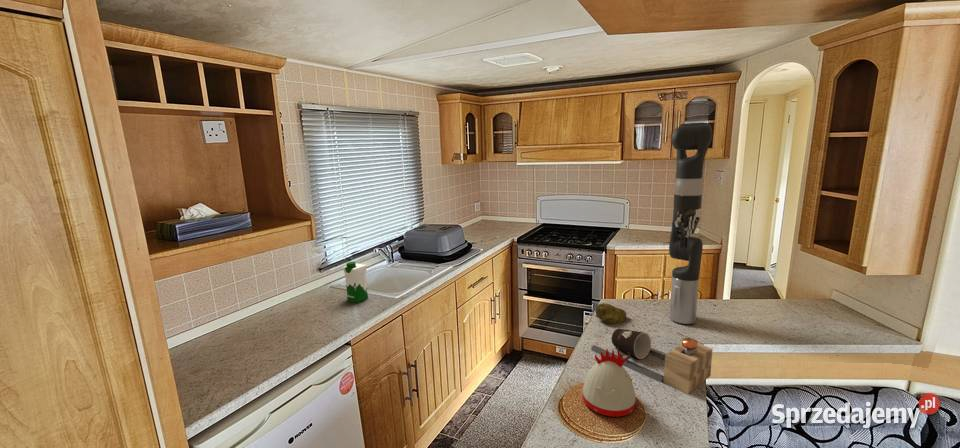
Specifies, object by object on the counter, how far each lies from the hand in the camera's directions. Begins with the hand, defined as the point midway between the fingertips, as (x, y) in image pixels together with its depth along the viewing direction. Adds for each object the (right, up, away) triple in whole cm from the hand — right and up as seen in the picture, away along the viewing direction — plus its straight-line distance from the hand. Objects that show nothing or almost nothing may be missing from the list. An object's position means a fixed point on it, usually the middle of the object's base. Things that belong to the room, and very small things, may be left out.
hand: (684, 248), depth 123 cm
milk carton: (-122, -30, +64) cm, 141 cm away
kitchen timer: (-28, -41, -14) cm, 52 cm away
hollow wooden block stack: (-2, -39, -6) cm, 39 cm away
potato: (-11, -32, +34) cm, 48 cm away
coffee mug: (-17, -32, +14) cm, 39 cm away
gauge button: (-2, -36, -6) cm, 37 cm away
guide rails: (-12, -37, +7) cm, 39 cm away
